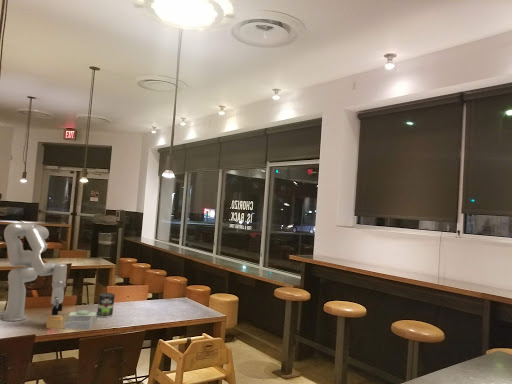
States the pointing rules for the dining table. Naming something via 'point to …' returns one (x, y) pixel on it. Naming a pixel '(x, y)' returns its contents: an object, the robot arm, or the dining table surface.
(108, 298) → the coffee can
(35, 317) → the dining table surface
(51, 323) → the chute block
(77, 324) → the clear square container
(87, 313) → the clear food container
